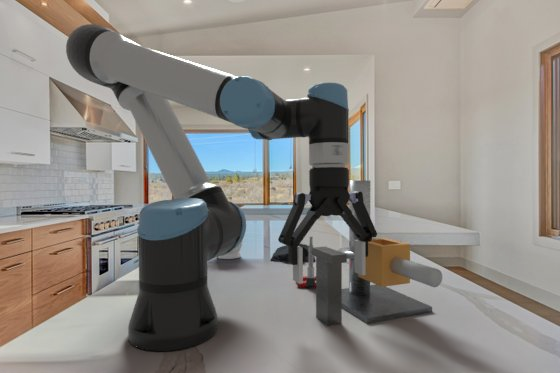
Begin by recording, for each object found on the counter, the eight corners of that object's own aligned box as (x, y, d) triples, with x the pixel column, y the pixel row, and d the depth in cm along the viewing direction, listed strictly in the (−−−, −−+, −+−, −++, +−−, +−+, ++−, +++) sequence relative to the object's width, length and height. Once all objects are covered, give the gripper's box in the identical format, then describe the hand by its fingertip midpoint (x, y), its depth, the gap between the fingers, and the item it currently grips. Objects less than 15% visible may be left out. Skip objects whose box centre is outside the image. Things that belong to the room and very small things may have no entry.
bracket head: (419, 303, 59) (419, 256, 58) (357, 276, 75) (358, 239, 75) (450, 298, 61) (450, 253, 61) (384, 273, 78) (384, 237, 78)
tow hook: (297, 279, 96) (293, 288, 87) (297, 232, 96) (294, 236, 87) (327, 281, 95) (327, 289, 86) (328, 233, 95) (327, 237, 86)
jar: (249, 256, 124) (249, 214, 123) (230, 261, 115) (230, 216, 115) (226, 252, 129) (226, 212, 129) (207, 258, 121) (207, 215, 120)
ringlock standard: (367, 323, 65) (367, 180, 64) (319, 293, 83) (319, 180, 82) (432, 311, 71) (432, 180, 70) (374, 285, 88) (374, 180, 88)
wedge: (332, 330, 62) (332, 255, 62) (312, 314, 70) (312, 247, 69) (346, 327, 63) (346, 254, 63) (325, 312, 71) (325, 246, 70)
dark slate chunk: (313, 251, 135) (313, 239, 135) (315, 264, 113) (315, 250, 113) (275, 250, 136) (275, 238, 136) (269, 263, 114) (269, 249, 114)
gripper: (274, 165, 58) (276, 291, 58) (394, 166, 67) (395, 275, 67) (260, 167, 65) (262, 280, 65) (371, 168, 74) (372, 266, 74)
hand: (330, 277), depth 66 cm, fingers open, 13 cm apart
